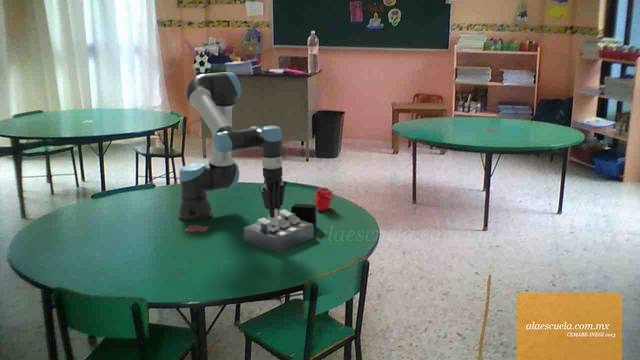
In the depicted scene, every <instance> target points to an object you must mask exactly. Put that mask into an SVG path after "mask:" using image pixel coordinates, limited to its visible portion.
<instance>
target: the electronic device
mask: <svg viewBox="0 0 640 360" xmlns="http://www.w3.org/2000/svg"><path fill="white" fill-rule="evenodd" d="M290 210H291V212H290V213H295V214H296V216H297V217H298V218H300V220H302V221H306V222H309V223H312V224H314V230H315V228H316V227H317V208H316V205H315V204H307V203H294V204H292V205H291V208H290Z"/></svg>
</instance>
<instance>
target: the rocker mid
mask: <svg viewBox="0 0 640 360" xmlns="http://www.w3.org/2000/svg"><path fill="white" fill-rule="evenodd" d="M267 219H270V220H271V217H270V214H268V216H267ZM289 224H290V223H289V222H288V221H287V220H285V219H284V218H282V217H280V216H278V225H279V226H280V227H282V228H286V227H288V226H289Z"/></svg>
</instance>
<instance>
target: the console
mask: <svg viewBox="0 0 640 360" xmlns="http://www.w3.org/2000/svg"><path fill="white" fill-rule="evenodd" d="M292 214H293V215H295V216H296V214H295V213H292ZM279 216H280V215H279ZM280 217H282V218H284V219H285V220H287V221H288V217H287V216H284V215H283V216H280ZM266 219H267V220H269V221H271V220H270V219H268V218H266ZM288 222H289V221H288ZM289 223H290V224H289V226H288V227H286V228H282V227H280V226H279V229H278V230H276V231H273V232H272V231H271V230H269V229H267V227H266V224H263V223H262V224H261V225H260V224H258V223H257V222H254V223H251V224H250V225H246V226H244V227H243V237H244V239H243V241H244V242H246V243H249V244H250V245H254V246H258V247H260V248H263V249H266V250H268V251H271V252H274V253H277V254H278V253H281V252H283V251H285V250H287V249H290V248H293V247H295V246H297V245H300V244H302V243H304V242H307V241H309V240H312V239H314V238H313V237H315V236H314V234H315V233H314V232H315V229H314V224H312V223H309V222H306V221H302V220H300V221H299V223H296V224H292V223H291V222H289Z"/></svg>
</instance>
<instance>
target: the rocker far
mask: <svg viewBox="0 0 640 360" xmlns="http://www.w3.org/2000/svg"><path fill="white" fill-rule="evenodd" d="M279 215H280V216H283V215H284V216H287V217H288V221H289V222H291V223H292V224H296V223H299V221H300V218H298V217H297V216H295V215H293V214H292V213H291V212H290V211H288V210H287V209H285V208H284V209H281V210H279Z"/></svg>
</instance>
